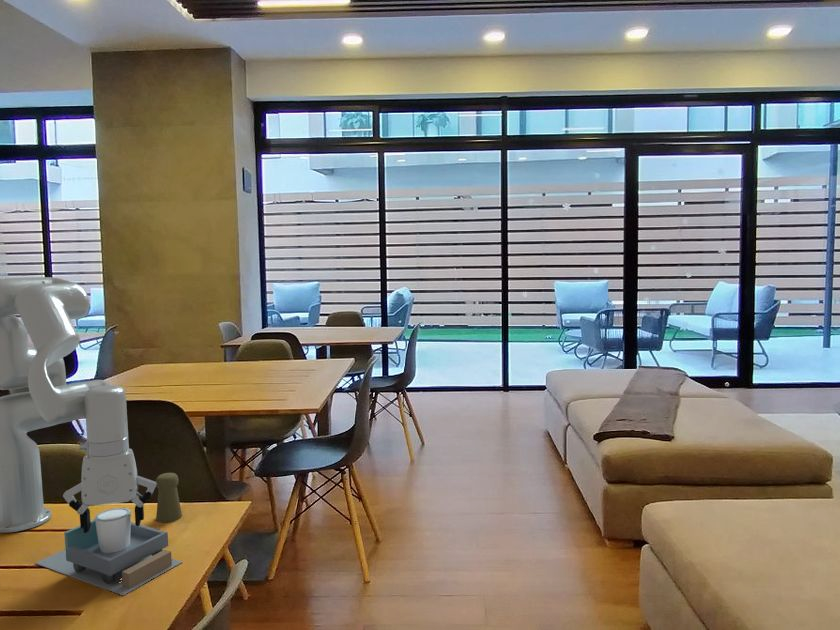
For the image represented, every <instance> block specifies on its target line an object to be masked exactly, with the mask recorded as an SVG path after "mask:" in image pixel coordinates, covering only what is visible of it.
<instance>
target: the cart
mask: <svg viewBox="0 0 840 630" xmlns="http://www.w3.org/2000/svg"><path fill="white" fill-rule="evenodd" d="M123 508H126V507H123ZM90 522H91V527H90V529H89V531H88V532H87V533H84V528H81V527H80V525H78V526H75V527H74V528H72V529H71V528H70V529H69V530H66V531H64V532H63V533H64V546H65V549H66V561H69V562H72V563H73V567H74V570H75V571H76V572H77V573H80V572H82V571H84V570H85V569H86V568H89V569H92V570H95V571H98V572H101V573H102V578H103V580H104V582H105V583H110V582H112V581H114V580H115V573H117V572H119V571H121V570H123V569H125V568H127V567H129V566H130V565H132V564H134V563H136V562H138V561H140V560H142V559H144V558H146V557H148V556H150V555H152V556H153V555H155V554H157V553H159V552H161V551H163V550H164V549H165V548H168V547H169V535H168V531H164V530H161V529H157V528H153V527H150V526H146V525H144V524H140V526H136V525H135V522H132V521H131V527H130V544H129V546H128V547H127V548H125V549H123V550H120V551H117V552H112V553H104V552H101V551H100V548H99V542H98V536H97V531H96V525H95V519H93V520H90Z"/></svg>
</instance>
